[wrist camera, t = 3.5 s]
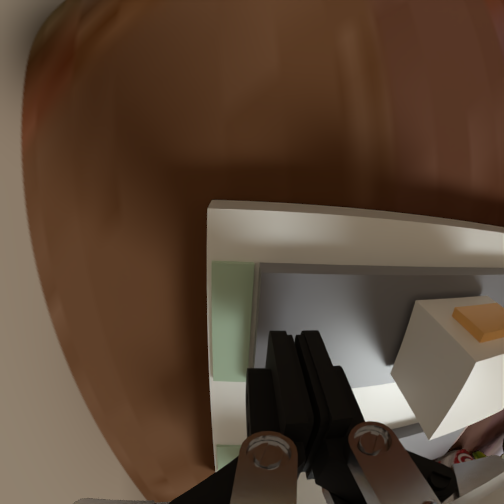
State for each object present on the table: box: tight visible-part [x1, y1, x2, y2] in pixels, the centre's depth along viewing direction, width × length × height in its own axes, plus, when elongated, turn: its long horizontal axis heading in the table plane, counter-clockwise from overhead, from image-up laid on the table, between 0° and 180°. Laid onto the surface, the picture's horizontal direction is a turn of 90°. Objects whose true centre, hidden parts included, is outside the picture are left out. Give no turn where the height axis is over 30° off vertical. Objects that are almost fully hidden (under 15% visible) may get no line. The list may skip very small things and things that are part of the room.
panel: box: [207, 200, 504, 472], centre depth 15 cm, size 22×22×3 cm
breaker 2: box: [390, 296, 504, 440], centre depth 9 cm, size 4×5×4 cm
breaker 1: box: [297, 472, 327, 504], centre depth 13 cm, size 4×5×4 cm
